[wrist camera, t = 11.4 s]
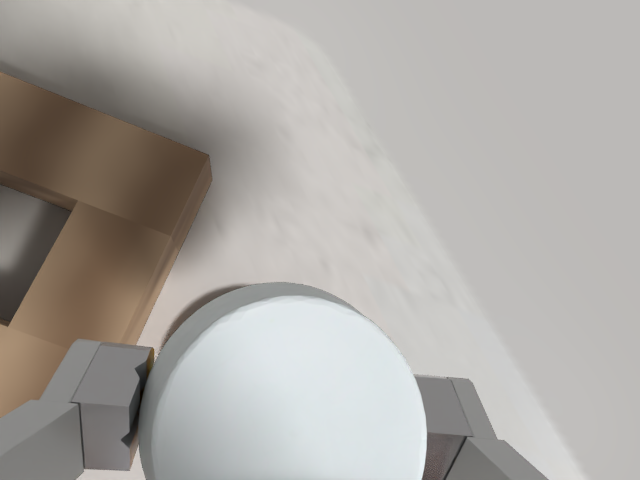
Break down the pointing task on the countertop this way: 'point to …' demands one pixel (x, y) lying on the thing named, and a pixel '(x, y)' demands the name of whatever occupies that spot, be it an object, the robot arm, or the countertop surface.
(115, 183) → the frame
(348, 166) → the countertop surface
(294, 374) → the supplement bottle
